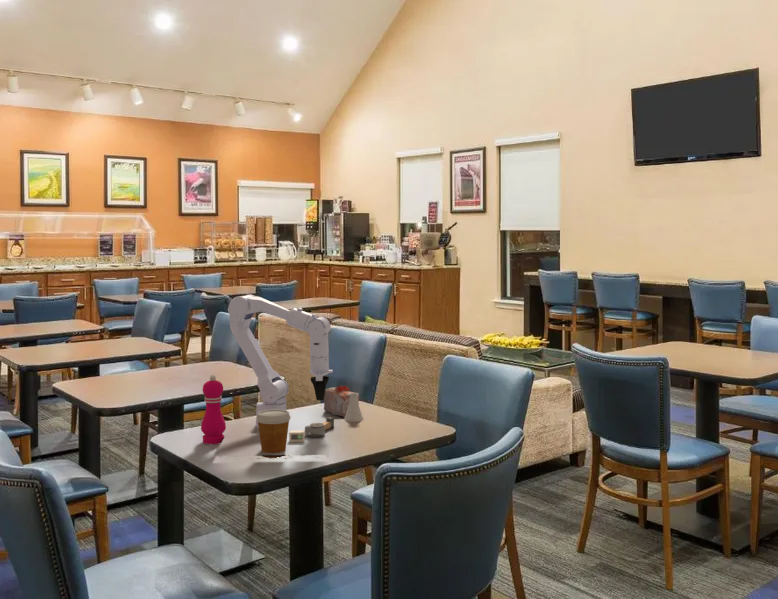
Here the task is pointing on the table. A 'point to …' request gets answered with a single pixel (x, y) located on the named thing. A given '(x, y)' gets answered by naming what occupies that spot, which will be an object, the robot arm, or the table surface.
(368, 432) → the table surface
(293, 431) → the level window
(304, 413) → the table surface
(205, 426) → the pepper mill
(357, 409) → the flask
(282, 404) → the robot arm
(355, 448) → the table surface
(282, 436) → the disposable coffee cup
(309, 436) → the wooden handled metal tool
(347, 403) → the food item
